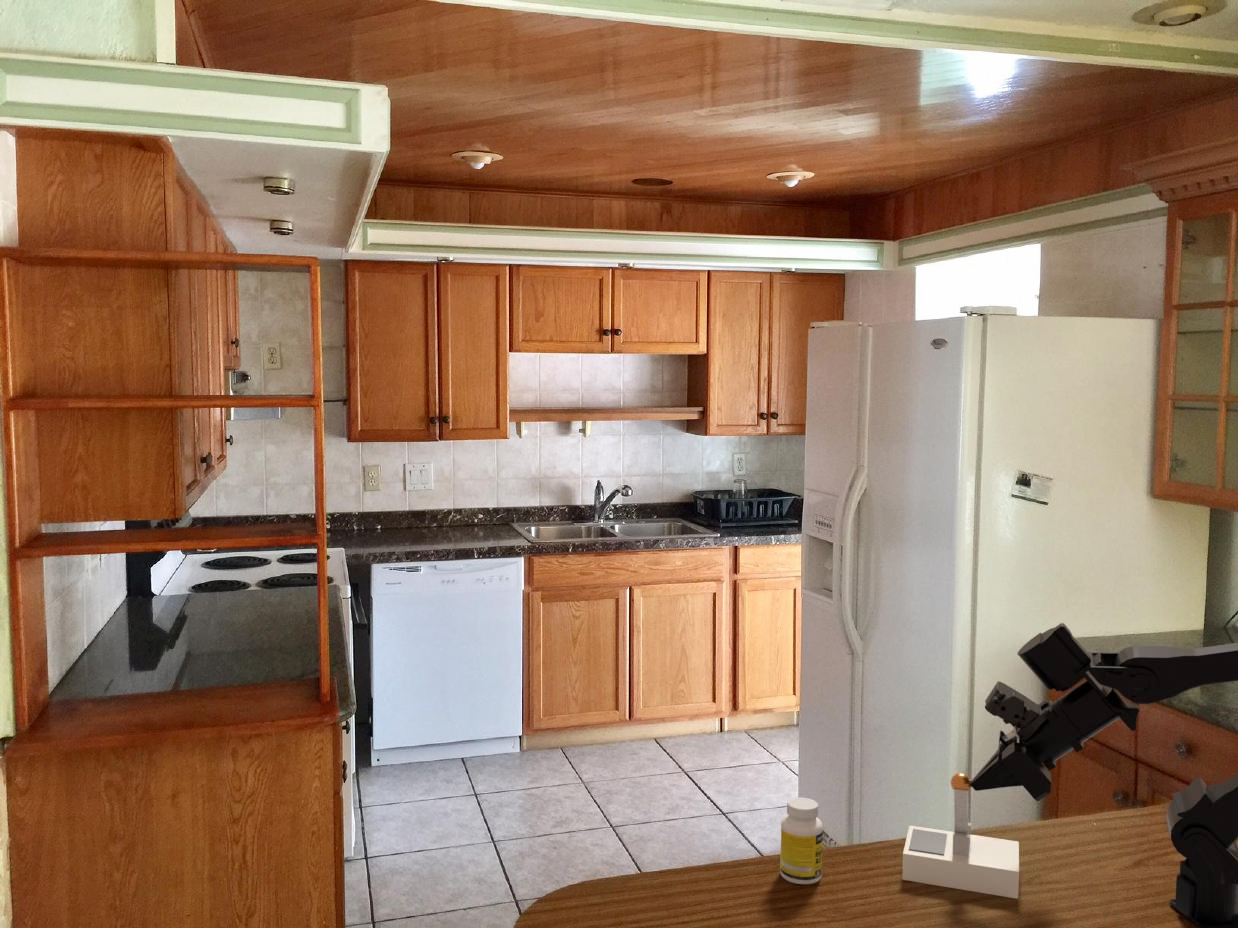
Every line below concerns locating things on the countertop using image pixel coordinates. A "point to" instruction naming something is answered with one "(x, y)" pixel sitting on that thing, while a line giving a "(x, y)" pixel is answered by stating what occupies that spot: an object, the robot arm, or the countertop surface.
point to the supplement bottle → (801, 842)
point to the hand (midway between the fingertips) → (972, 786)
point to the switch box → (962, 861)
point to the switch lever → (961, 801)
